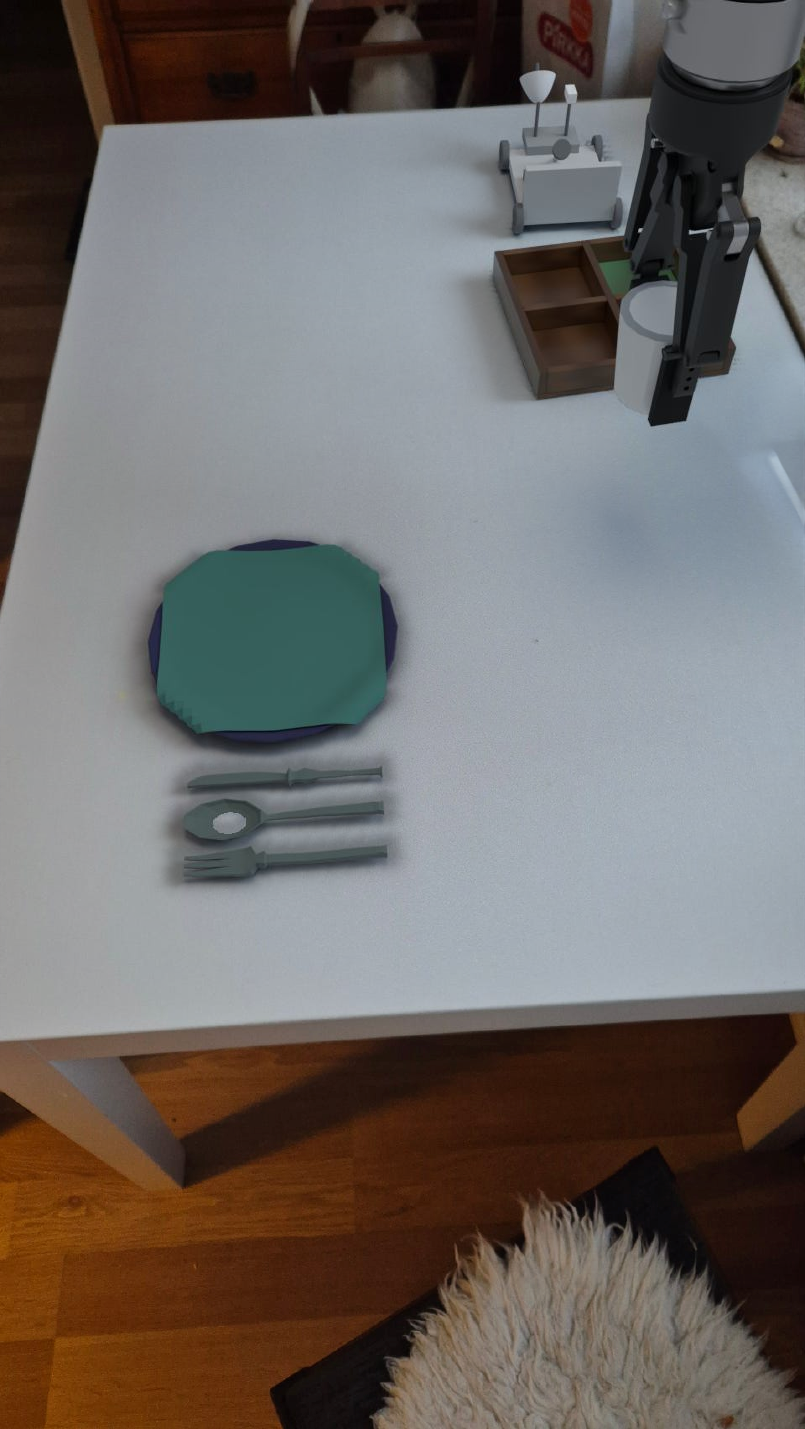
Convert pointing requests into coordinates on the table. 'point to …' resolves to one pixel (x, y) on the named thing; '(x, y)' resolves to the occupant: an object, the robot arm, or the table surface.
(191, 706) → the cutlery set
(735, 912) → the table surface
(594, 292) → the compartment tray
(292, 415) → the table surface
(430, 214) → the table surface
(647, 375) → the white cylinder canister
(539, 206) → the toy rover
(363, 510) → the table surface
